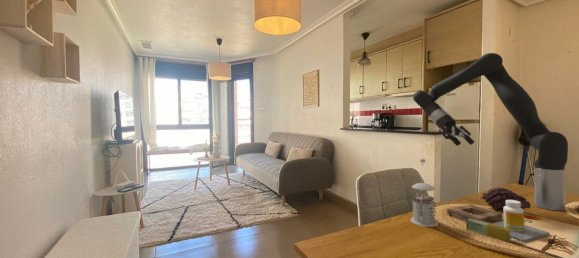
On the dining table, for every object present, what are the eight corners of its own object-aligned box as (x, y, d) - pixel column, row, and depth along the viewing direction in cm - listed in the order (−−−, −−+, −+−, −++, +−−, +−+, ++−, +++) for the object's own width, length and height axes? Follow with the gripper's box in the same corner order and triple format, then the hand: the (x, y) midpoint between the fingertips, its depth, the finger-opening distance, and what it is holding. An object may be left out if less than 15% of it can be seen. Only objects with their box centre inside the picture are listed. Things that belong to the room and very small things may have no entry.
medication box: (465, 230, 89) (465, 219, 89) (468, 228, 90) (468, 217, 90) (509, 242, 79) (509, 230, 79) (511, 240, 81) (511, 228, 80)
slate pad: (508, 221, 94) (508, 219, 94) (549, 234, 83) (549, 232, 83) (483, 228, 90) (482, 225, 90) (523, 242, 78) (523, 240, 78)
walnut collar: (470, 210, 107) (470, 204, 107) (502, 220, 96) (502, 213, 96) (447, 215, 103) (447, 209, 103) (477, 225, 92) (477, 219, 92)
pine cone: (536, 215, 99) (536, 191, 99) (522, 220, 95) (522, 194, 95) (487, 203, 115) (486, 182, 115) (473, 206, 112) (473, 184, 111)
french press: (441, 220, 97) (439, 158, 97) (433, 230, 89) (432, 162, 88) (414, 215, 104) (413, 156, 104) (405, 223, 96) (403, 160, 95)
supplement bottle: (528, 232, 83) (527, 203, 83) (510, 231, 84) (509, 203, 84) (516, 225, 89) (516, 199, 88) (500, 225, 90) (499, 199, 89)
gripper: (436, 114, 117) (460, 139, 106) (457, 113, 122) (483, 137, 111) (427, 125, 122) (449, 150, 112) (448, 124, 127) (471, 148, 116)
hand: (466, 144), depth 111 cm, fingers open, 8 cm apart
